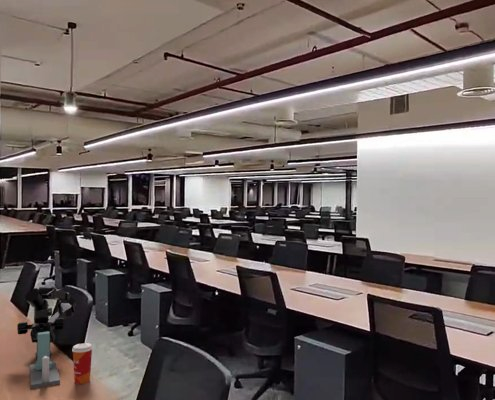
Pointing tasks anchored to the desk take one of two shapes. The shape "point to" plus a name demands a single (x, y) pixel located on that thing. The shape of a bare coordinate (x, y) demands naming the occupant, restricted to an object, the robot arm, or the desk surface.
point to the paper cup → (82, 362)
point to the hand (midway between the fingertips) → (41, 343)
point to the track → (39, 376)
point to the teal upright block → (43, 349)
